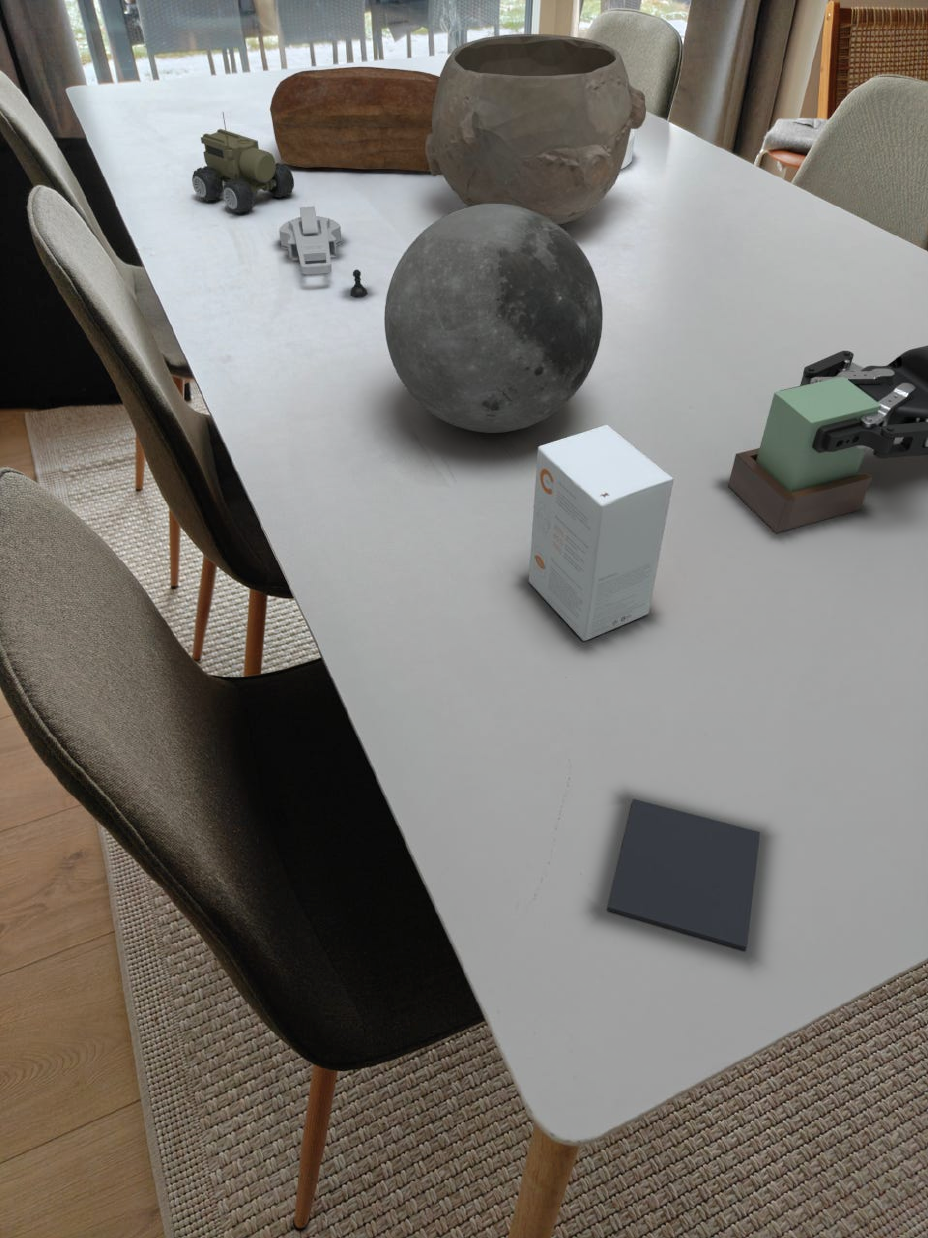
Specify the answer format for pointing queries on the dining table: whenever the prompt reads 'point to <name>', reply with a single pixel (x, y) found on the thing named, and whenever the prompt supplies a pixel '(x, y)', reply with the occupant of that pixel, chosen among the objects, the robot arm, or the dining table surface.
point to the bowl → (533, 122)
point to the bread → (354, 118)
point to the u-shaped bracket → (793, 495)
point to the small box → (597, 529)
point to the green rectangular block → (811, 433)
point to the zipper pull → (311, 240)
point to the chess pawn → (357, 286)
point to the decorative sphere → (493, 318)
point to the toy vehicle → (239, 171)
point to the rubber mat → (686, 873)
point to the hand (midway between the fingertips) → (796, 422)
